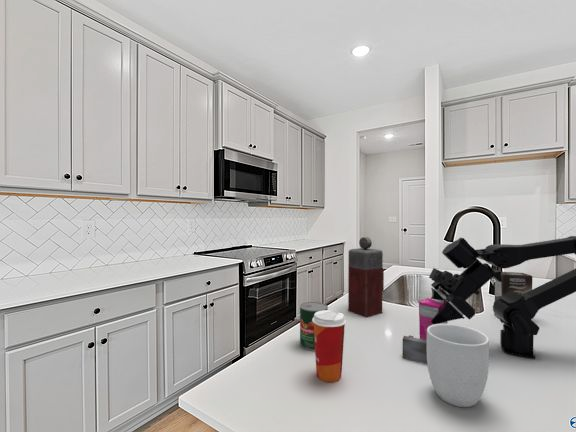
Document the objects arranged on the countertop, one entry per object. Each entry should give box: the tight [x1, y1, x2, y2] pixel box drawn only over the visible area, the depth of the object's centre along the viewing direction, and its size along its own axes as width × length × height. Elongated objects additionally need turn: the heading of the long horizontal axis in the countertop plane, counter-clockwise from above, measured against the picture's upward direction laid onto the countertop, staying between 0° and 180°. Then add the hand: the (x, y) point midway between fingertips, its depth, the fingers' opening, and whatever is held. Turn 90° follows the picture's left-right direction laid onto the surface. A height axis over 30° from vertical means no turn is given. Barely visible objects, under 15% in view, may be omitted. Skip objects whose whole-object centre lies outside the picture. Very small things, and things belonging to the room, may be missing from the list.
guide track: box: [401, 335, 427, 364], centre depth 79 cm, size 12×10×5 cm
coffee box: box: [493, 271, 533, 321], centre depth 106 cm, size 9×6×16 cm
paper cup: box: [312, 309, 347, 383], centre depth 69 cm, size 8×8×14 cm
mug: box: [426, 323, 490, 408], centre depth 63 cm, size 15×11×13 cm
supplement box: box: [418, 297, 449, 340], centre depth 85 cm, size 6×6×12 cm
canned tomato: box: [299, 301, 329, 352], centre depth 85 cm, size 8×8×11 cm
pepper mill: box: [347, 236, 385, 319], centre depth 114 cm, size 9×11×28 cm
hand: (428, 317), depth 86 cm, fingers closed on supplement box, 8 cm apart
